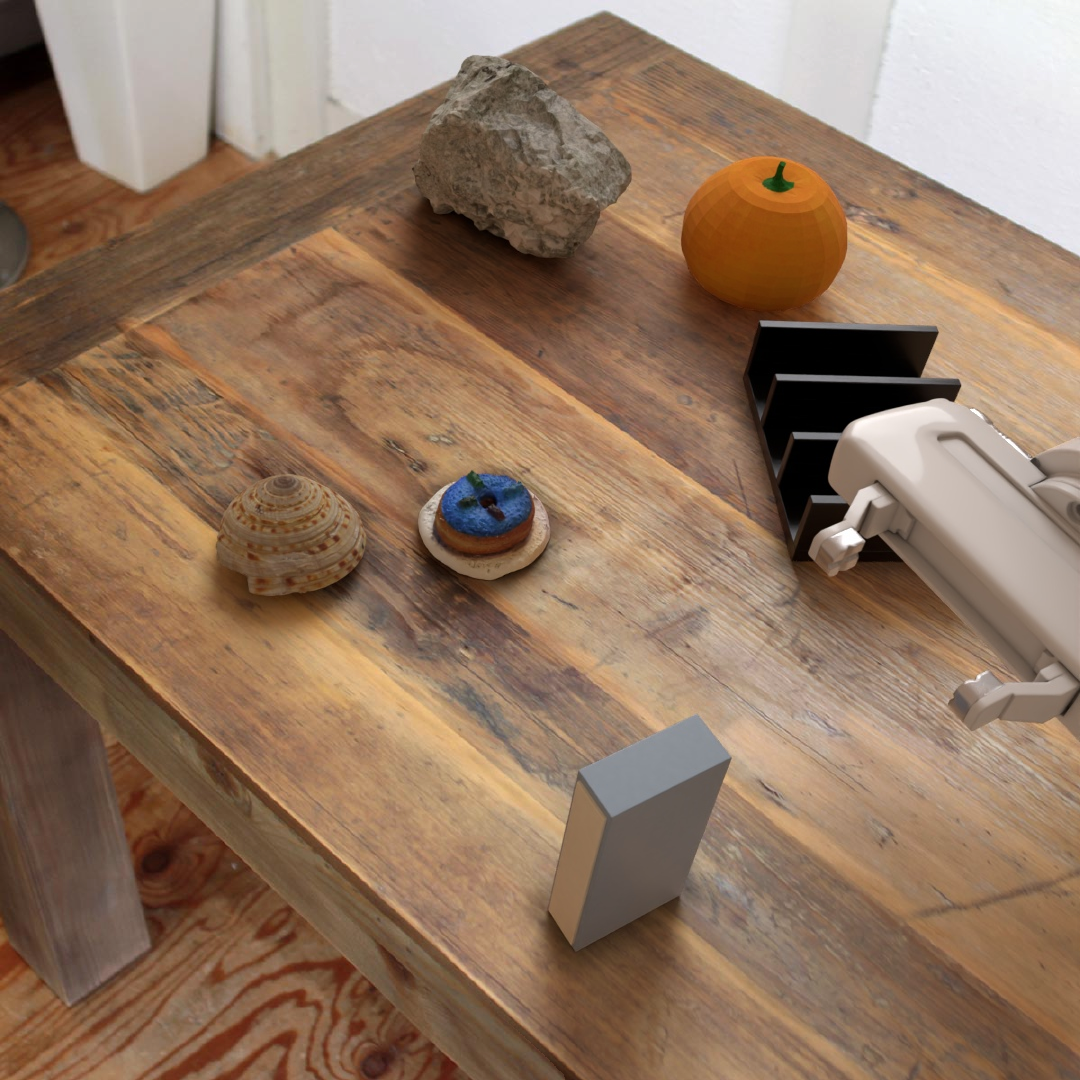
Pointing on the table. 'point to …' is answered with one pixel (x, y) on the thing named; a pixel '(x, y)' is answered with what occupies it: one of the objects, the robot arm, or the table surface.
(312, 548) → the seashell
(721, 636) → the table surface
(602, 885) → the grey rectangular block
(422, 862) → the table surface
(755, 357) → the rack
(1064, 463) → the robot arm
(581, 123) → the stone
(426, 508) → the dessert
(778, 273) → the fruit
